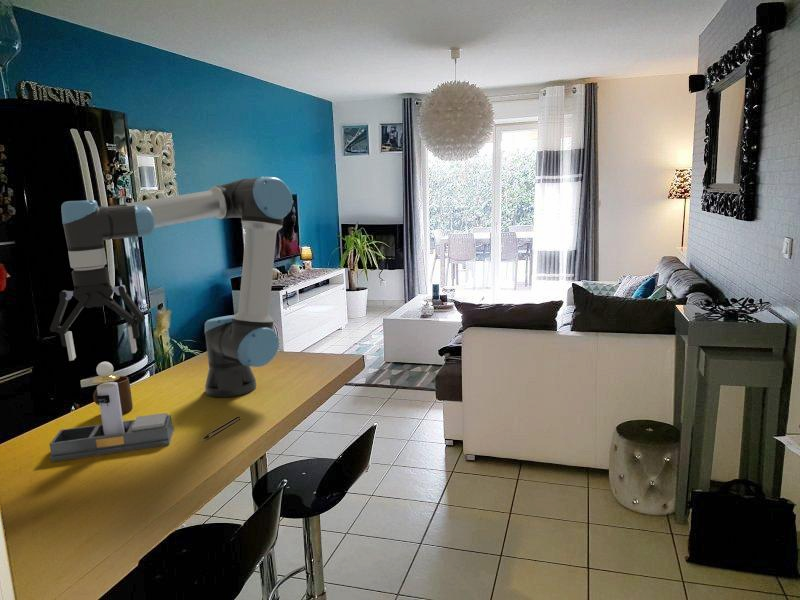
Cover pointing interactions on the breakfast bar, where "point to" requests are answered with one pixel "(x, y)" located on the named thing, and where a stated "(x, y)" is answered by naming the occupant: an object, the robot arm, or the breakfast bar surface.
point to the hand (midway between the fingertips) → (104, 355)
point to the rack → (112, 438)
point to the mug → (122, 394)
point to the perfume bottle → (109, 399)
